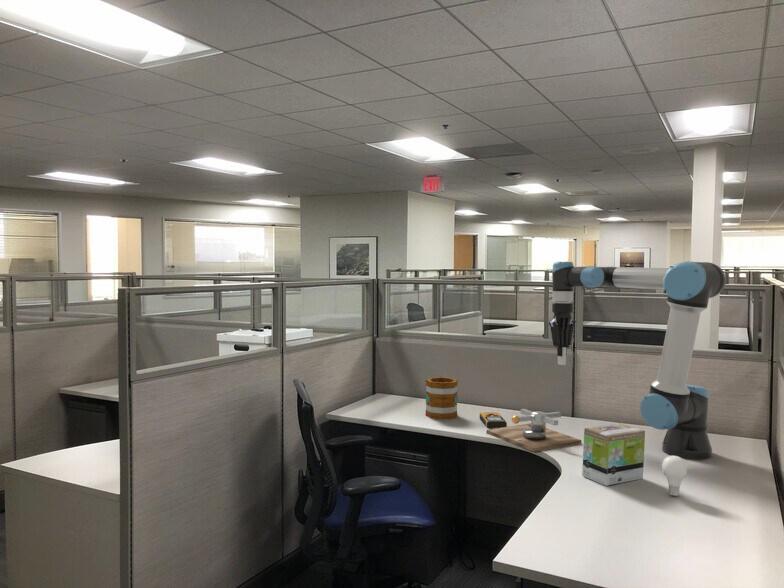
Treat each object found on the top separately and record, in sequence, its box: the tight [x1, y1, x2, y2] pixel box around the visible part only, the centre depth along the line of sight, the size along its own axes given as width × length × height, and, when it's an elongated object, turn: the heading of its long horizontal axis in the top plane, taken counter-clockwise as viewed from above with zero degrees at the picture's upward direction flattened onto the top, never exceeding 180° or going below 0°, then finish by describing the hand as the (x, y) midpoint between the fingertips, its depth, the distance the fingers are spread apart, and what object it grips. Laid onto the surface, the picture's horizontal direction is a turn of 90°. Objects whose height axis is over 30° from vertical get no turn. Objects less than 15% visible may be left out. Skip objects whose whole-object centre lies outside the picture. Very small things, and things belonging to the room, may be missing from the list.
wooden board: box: [486, 422, 582, 453], centre depth 219 cm, size 26×22×2 cm
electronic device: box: [479, 411, 508, 429], centre depth 240 cm, size 8×16×3 cm, turn 2°
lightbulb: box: [661, 455, 689, 497], centre depth 163 cm, size 6×6×11 cm
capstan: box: [511, 408, 562, 440], centre depth 215 cm, size 21×19×8 cm
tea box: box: [581, 422, 646, 487], centre depth 177 cm, size 15×10×15 cm, turn 117°
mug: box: [425, 376, 459, 421], centre depth 254 cm, size 20×14×15 cm
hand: (561, 364), depth 227 cm, fingers closed
